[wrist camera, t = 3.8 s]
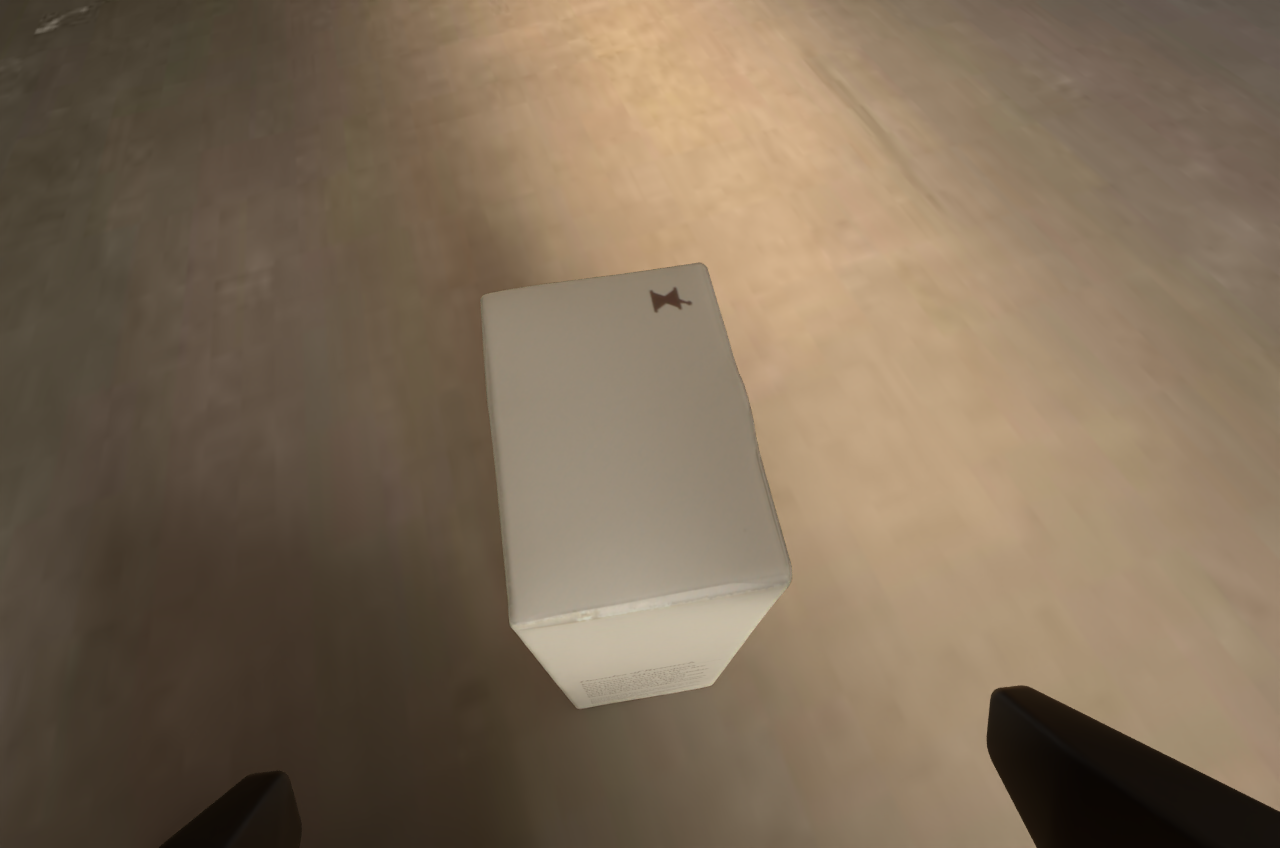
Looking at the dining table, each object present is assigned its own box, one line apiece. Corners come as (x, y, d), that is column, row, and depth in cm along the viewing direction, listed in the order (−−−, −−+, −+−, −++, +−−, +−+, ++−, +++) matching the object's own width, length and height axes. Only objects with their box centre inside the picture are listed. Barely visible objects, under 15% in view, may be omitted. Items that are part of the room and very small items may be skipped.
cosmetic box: (549, 521, 22) (473, 281, 12) (676, 501, 23) (712, 250, 12) (572, 719, 20) (500, 634, 9) (717, 692, 20) (811, 579, 9)
